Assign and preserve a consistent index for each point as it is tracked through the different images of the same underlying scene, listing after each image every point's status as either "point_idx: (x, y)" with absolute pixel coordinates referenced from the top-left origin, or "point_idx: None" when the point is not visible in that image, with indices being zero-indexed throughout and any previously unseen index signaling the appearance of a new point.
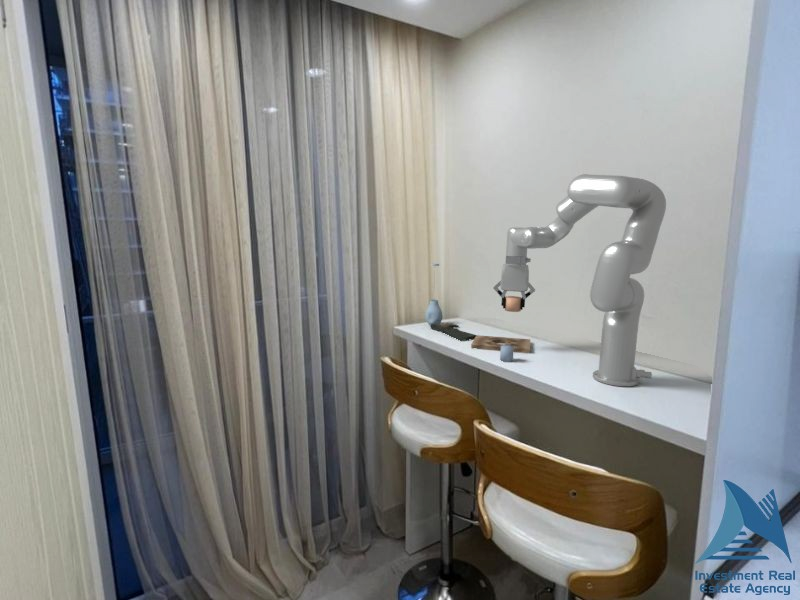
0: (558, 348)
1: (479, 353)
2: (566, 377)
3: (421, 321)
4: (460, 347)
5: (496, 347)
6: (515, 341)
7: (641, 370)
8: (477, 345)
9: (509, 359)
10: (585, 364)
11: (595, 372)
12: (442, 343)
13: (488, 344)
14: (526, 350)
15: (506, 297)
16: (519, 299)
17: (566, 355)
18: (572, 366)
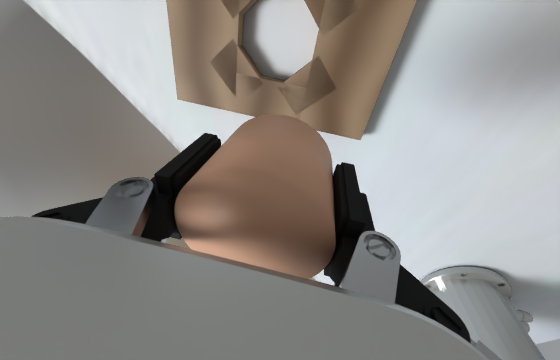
0: (527, 46)
1: None
2: None
3: None
4: (153, 90)
5: (255, 115)
6: (339, 16)
7: (522, 320)
8: (197, 103)
9: None
10: (472, 220)
11: (435, 281)
12: (86, 44)
13: (228, 91)
14: (348, 135)
15: (187, 242)
16: (302, 273)
17: (479, 148)
18: (423, 231)
